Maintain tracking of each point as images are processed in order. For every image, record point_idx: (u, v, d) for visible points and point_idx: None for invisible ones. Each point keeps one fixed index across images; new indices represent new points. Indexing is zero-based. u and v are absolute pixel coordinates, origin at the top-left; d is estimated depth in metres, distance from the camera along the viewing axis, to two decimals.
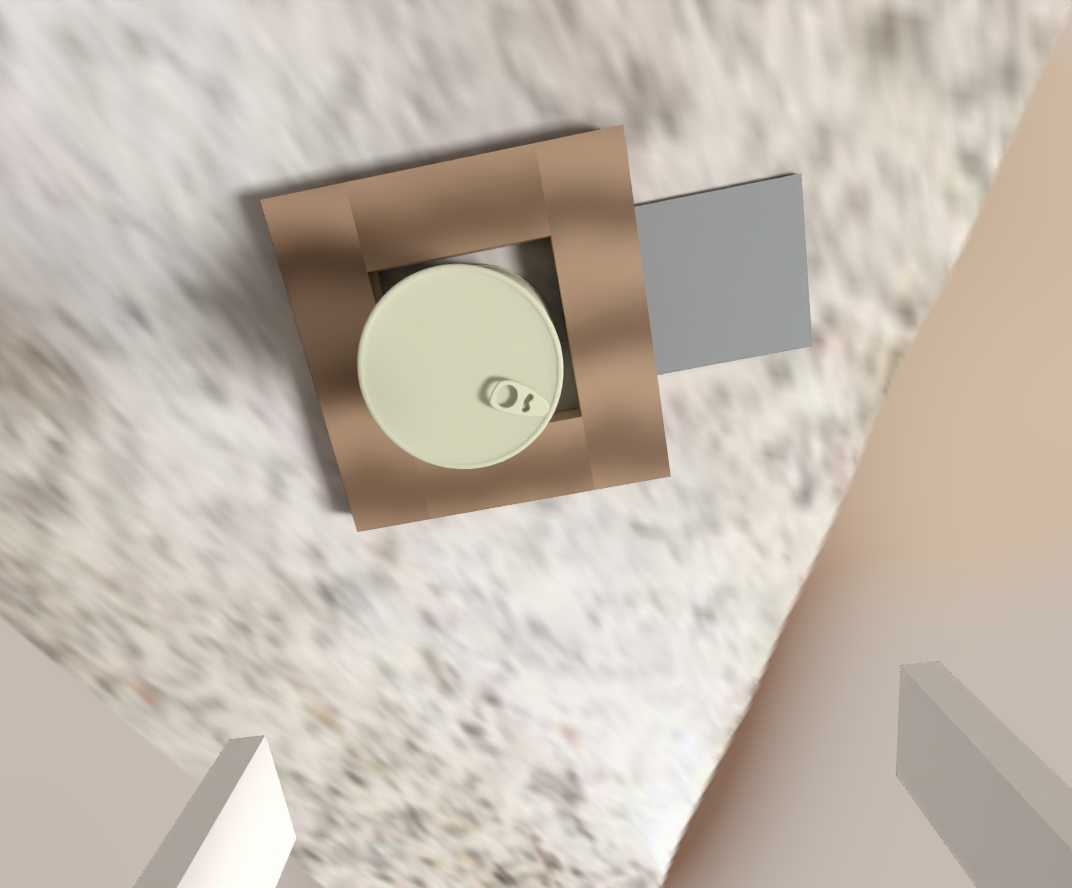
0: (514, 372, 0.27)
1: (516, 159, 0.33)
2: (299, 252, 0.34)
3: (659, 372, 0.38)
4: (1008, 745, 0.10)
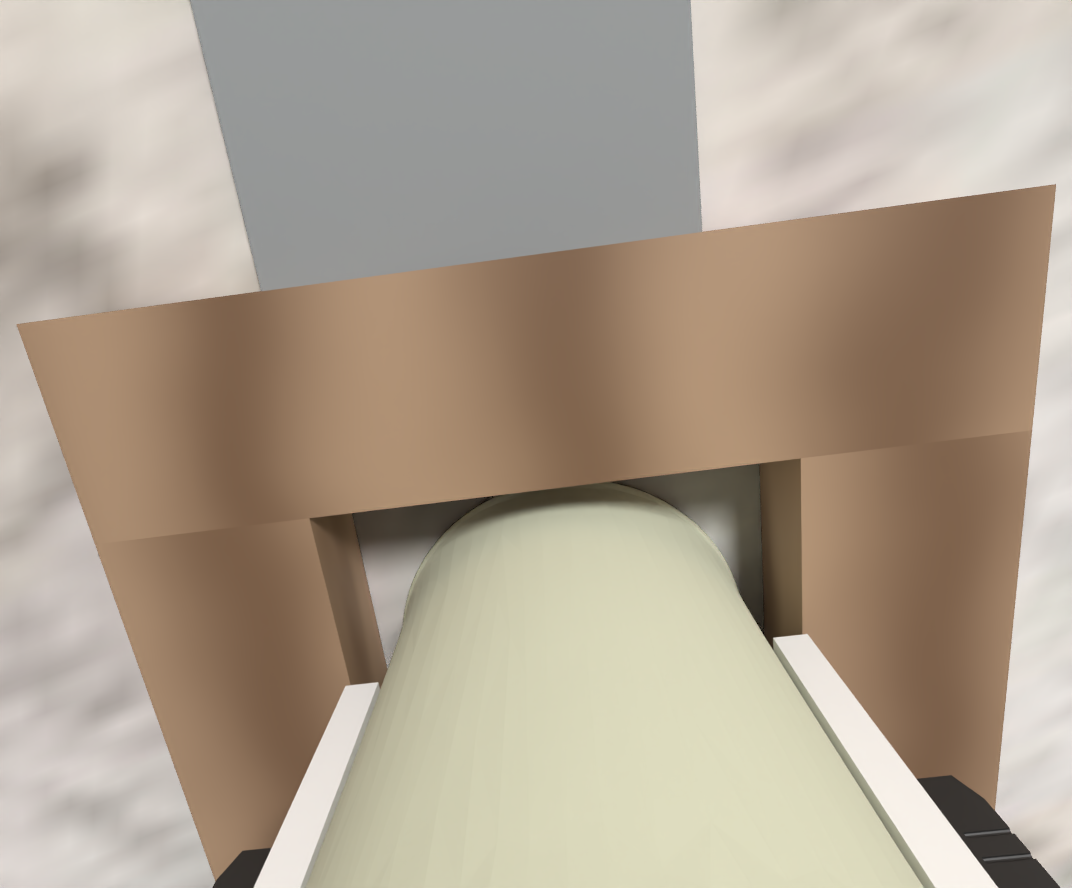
0: None
1: (138, 587, 0.14)
2: None
3: (695, 209, 0.13)
4: (843, 703, 0.11)
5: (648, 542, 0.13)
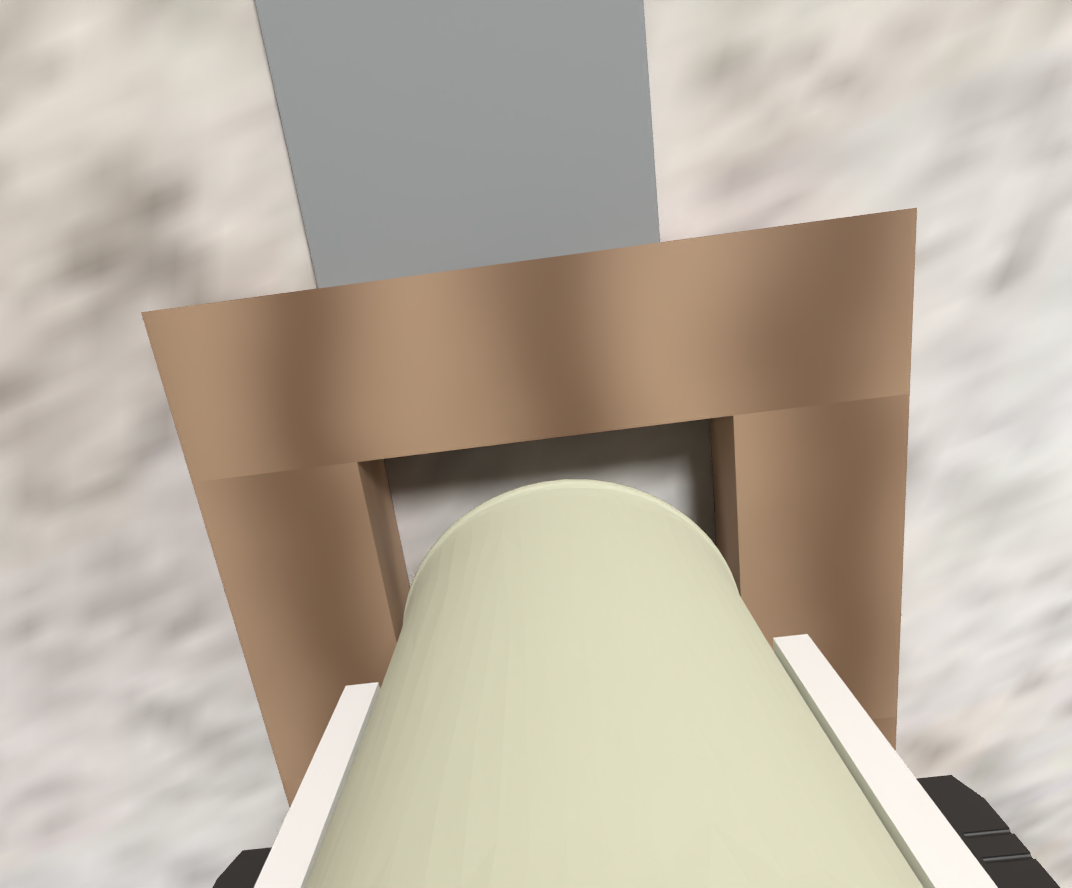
0: None
1: (224, 516, 0.17)
2: None
3: (654, 224, 0.17)
4: (843, 703, 0.11)
5: (648, 541, 0.13)
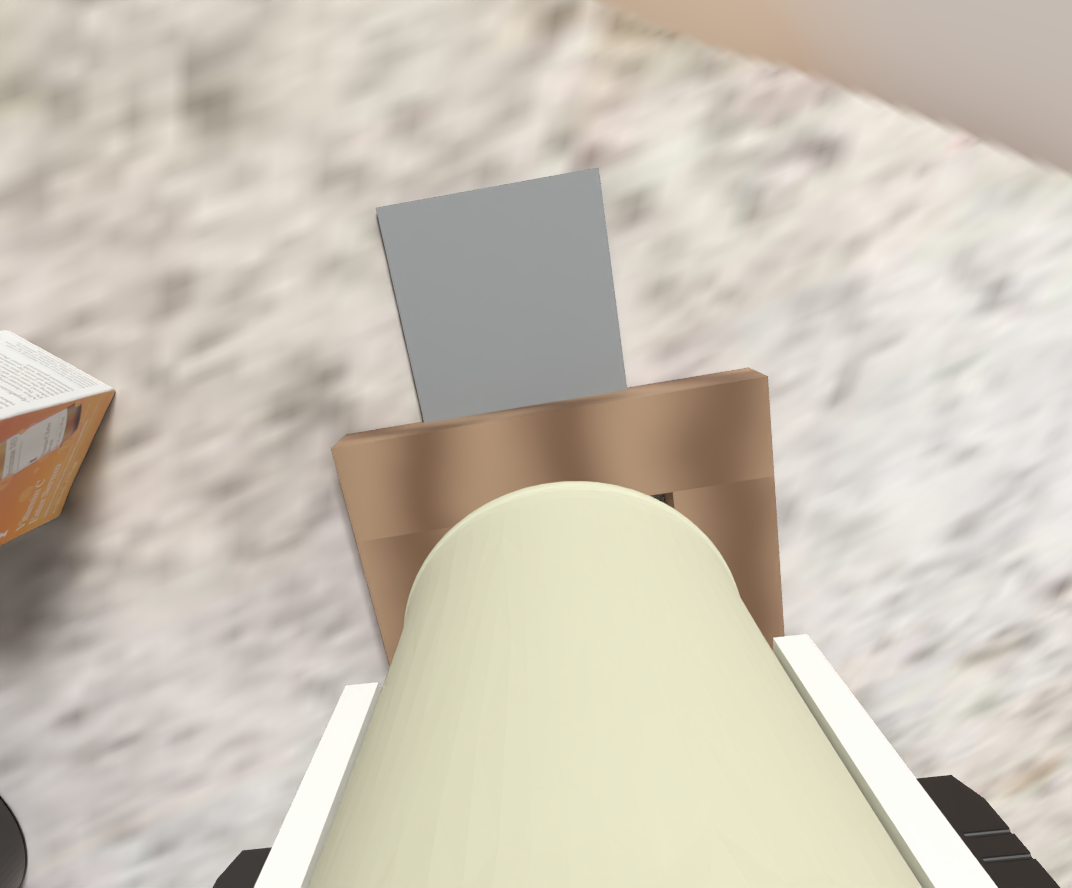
0: None
1: (374, 561, 0.29)
2: None
3: (623, 379, 0.29)
4: (843, 703, 0.11)
5: (648, 543, 0.13)
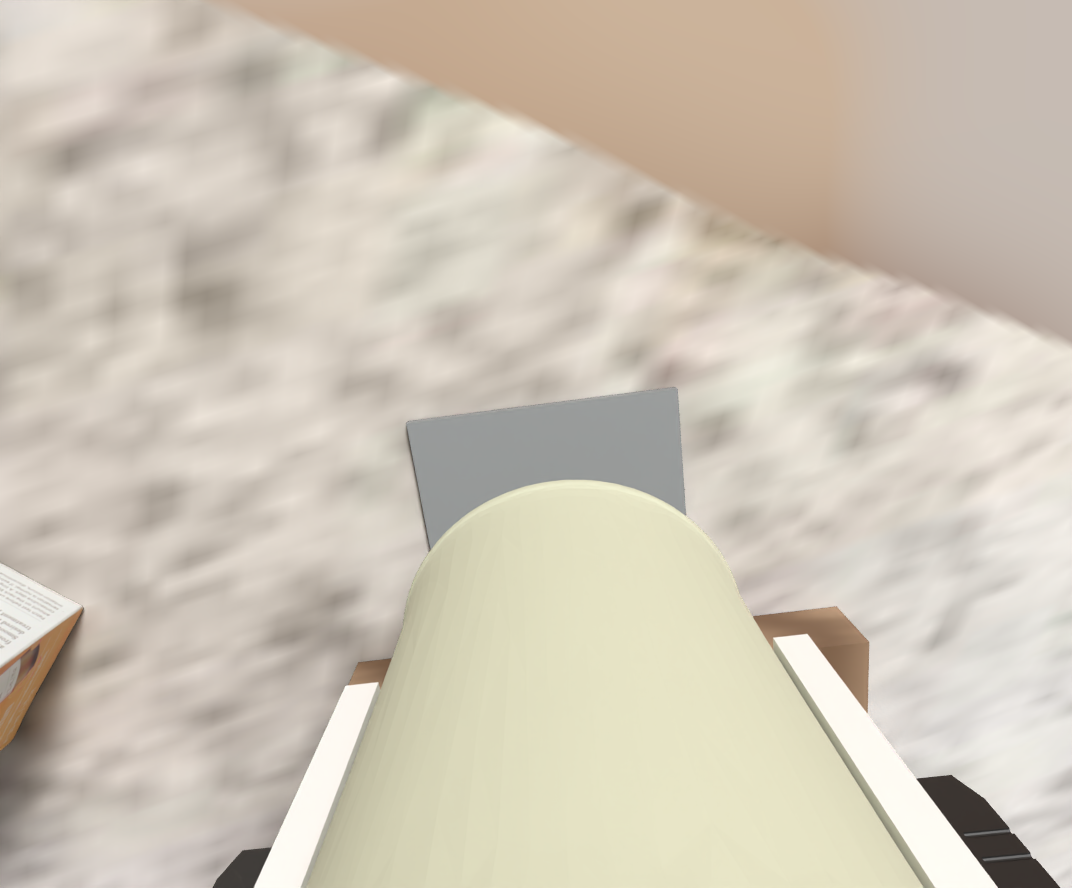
0: None
1: None
2: None
3: None
4: (843, 703, 0.11)
5: (649, 542, 0.13)
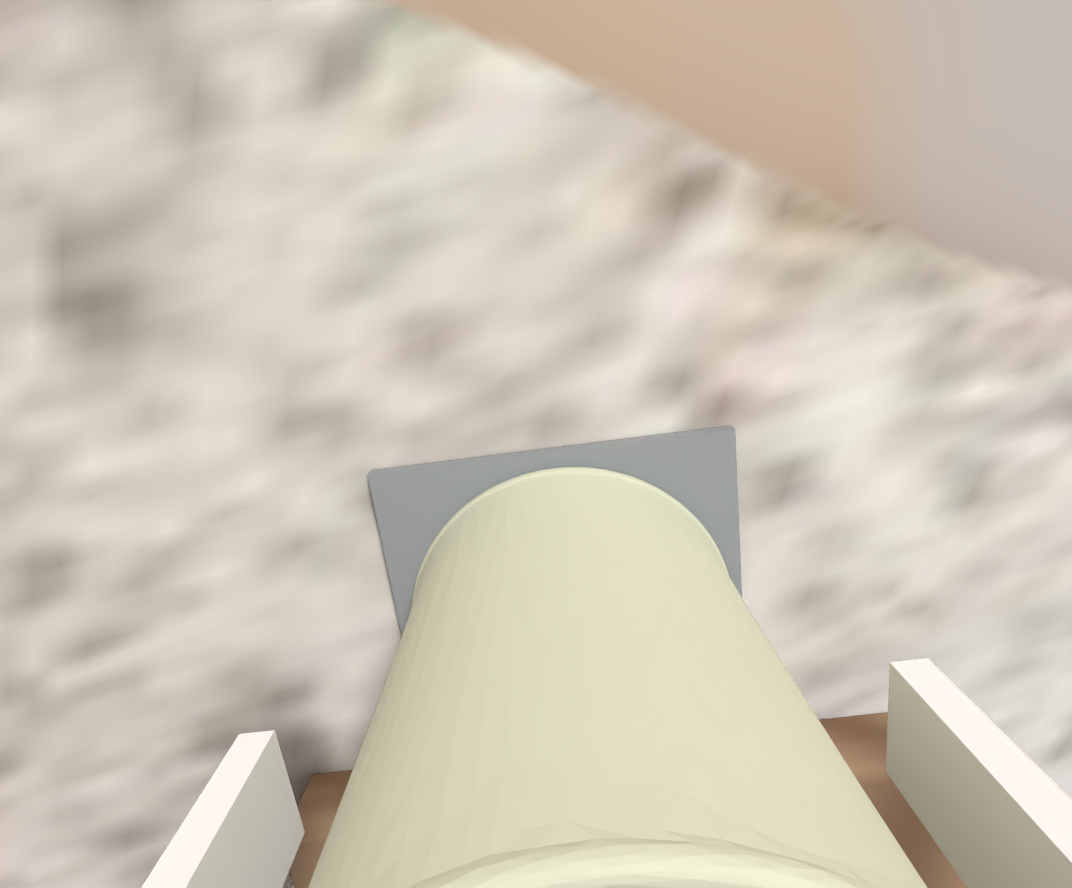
0: None
1: None
2: None
3: None
4: (993, 740, 0.10)
5: (642, 522, 0.14)
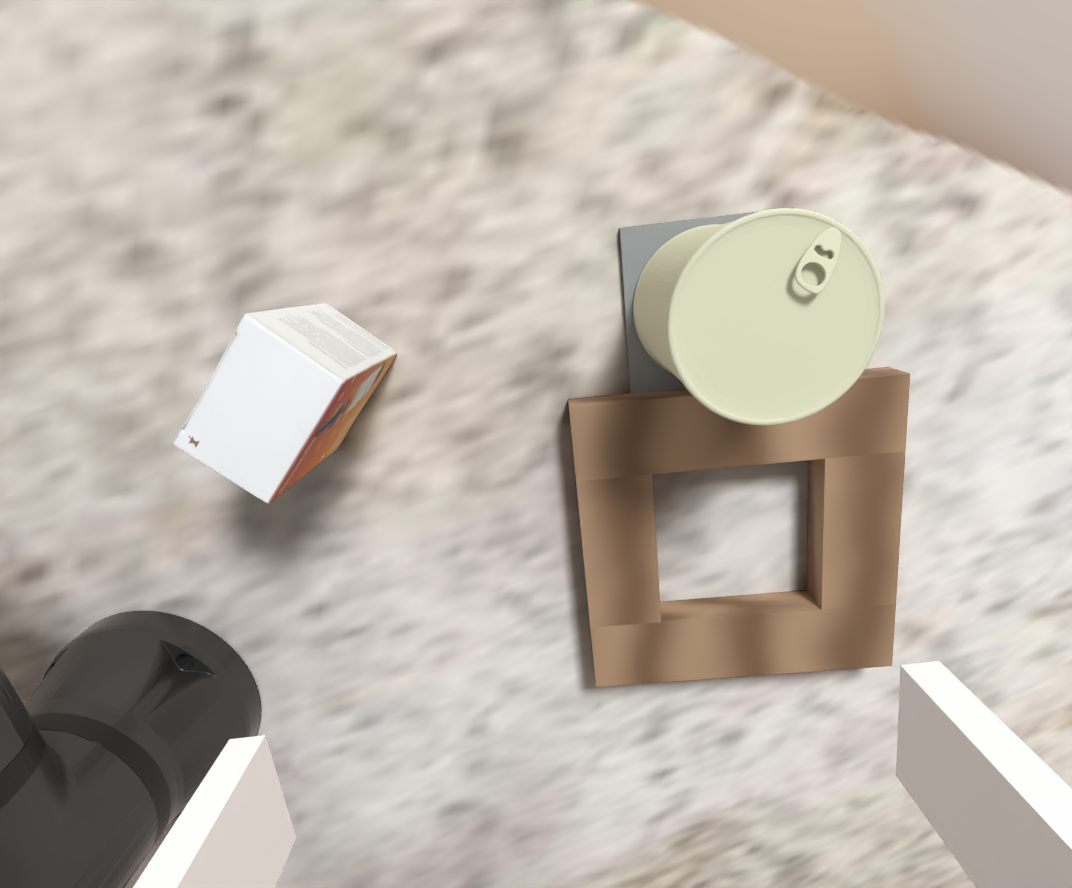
0: (787, 263, 0.25)
1: (587, 497, 0.38)
2: (638, 667, 0.42)
3: None
4: (1008, 745, 0.10)
5: None
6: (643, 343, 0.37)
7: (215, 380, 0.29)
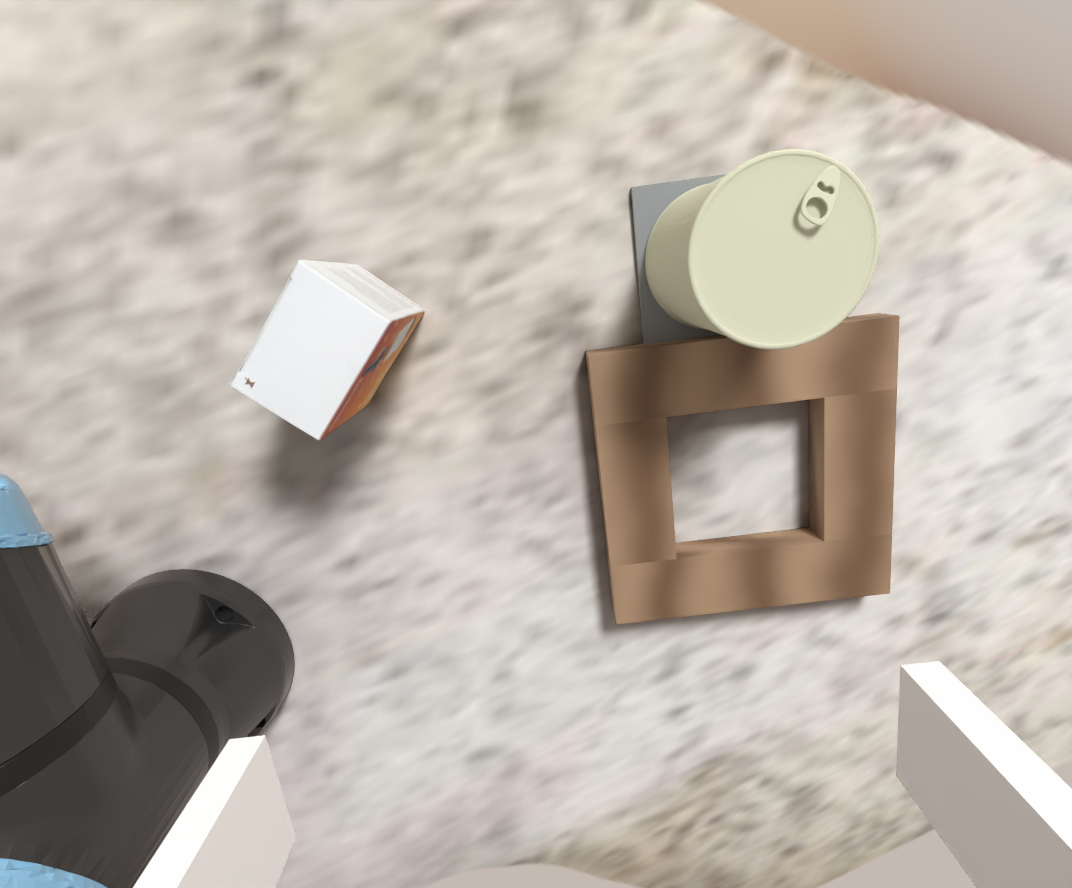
0: (793, 199, 0.28)
1: (606, 441, 0.41)
2: (656, 604, 0.45)
3: None
4: (1008, 745, 0.10)
5: None
6: (655, 295, 0.40)
7: (270, 323, 0.31)
